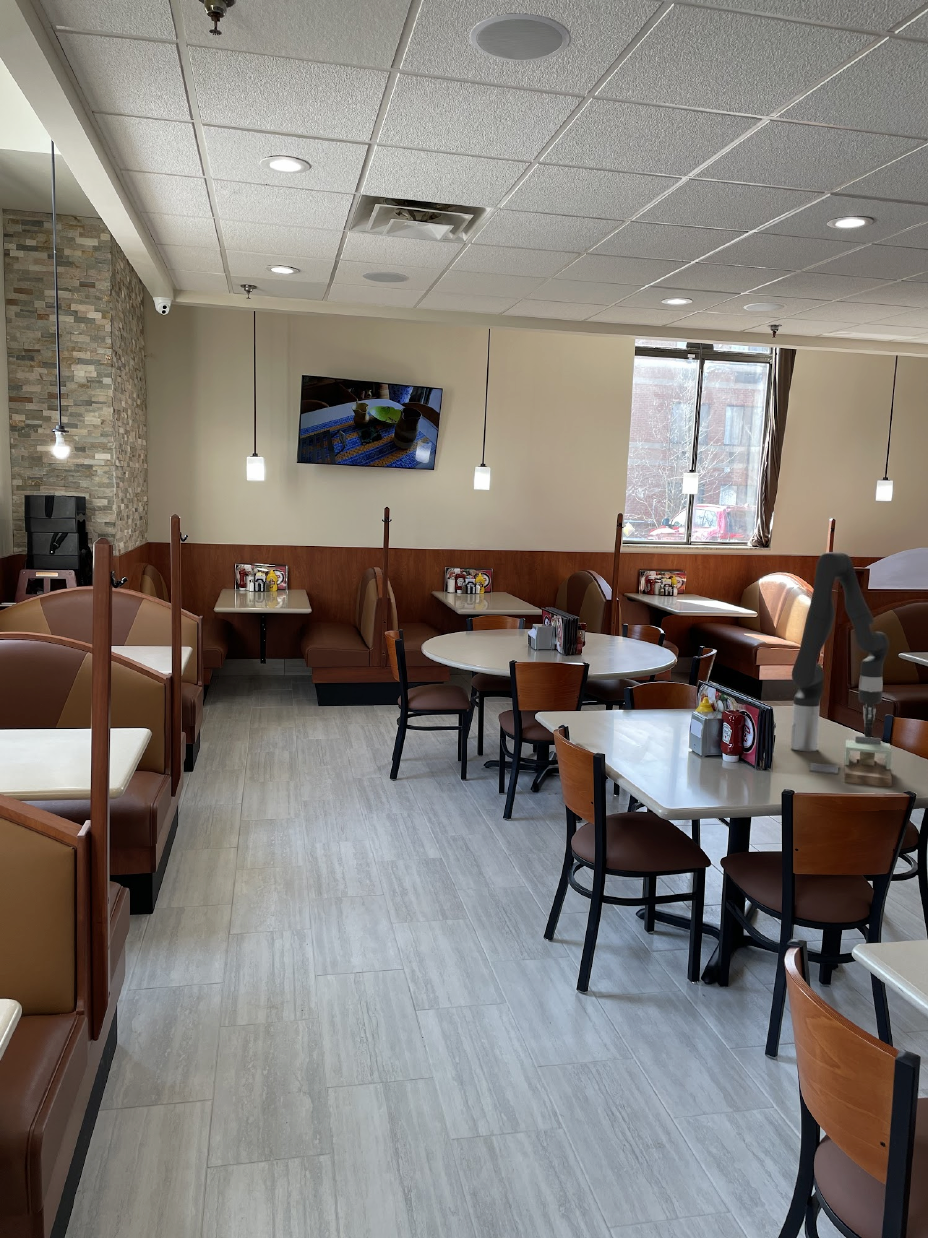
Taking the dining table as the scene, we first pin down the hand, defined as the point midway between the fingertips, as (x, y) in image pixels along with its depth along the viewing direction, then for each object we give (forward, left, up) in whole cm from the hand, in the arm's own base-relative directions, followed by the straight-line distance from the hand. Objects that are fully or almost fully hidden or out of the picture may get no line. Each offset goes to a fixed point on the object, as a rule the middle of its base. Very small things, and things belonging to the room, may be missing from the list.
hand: (867, 736), depth 318 cm
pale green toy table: (0, -10, -7) cm, 12 cm away
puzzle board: (0, -12, -10) cm, 16 cm away
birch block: (0, -8, -9) cm, 12 cm away
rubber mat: (-14, -12, -10) cm, 21 cm away
